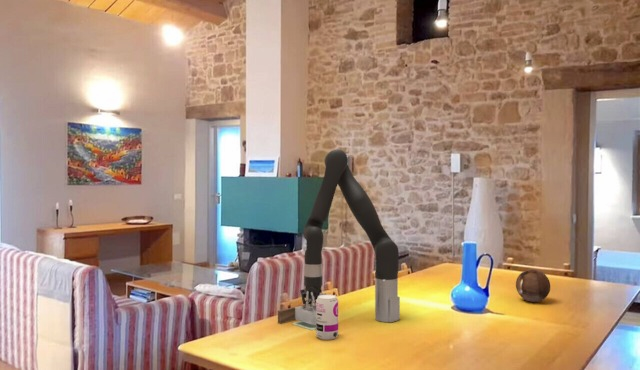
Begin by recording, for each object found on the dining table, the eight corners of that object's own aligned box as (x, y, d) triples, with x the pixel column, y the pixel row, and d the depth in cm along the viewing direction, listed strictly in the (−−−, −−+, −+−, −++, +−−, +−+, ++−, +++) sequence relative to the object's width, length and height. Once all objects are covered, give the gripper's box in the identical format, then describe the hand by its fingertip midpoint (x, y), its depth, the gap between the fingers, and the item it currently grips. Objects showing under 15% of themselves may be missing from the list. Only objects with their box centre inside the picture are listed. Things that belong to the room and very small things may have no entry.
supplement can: (341, 334, 200) (340, 294, 200) (334, 341, 192) (334, 299, 192) (320, 332, 203) (320, 293, 202) (313, 339, 195) (313, 298, 194)
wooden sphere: (544, 298, 257) (544, 267, 257) (554, 305, 242) (555, 272, 242) (512, 297, 259) (512, 266, 258) (520, 305, 244) (520, 272, 243)
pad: (334, 324, 214) (334, 323, 214) (312, 330, 206) (312, 329, 206) (313, 318, 223) (313, 317, 223) (291, 324, 214) (291, 323, 214)
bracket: (313, 314, 221) (313, 302, 221) (330, 319, 214) (330, 307, 214) (295, 319, 214) (295, 307, 214) (311, 324, 207) (311, 311, 207)
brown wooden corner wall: (334, 320, 219) (334, 308, 219) (299, 330, 206) (299, 317, 206) (312, 314, 229) (311, 302, 229) (277, 323, 216) (277, 310, 216)
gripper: (332, 275, 215) (332, 318, 216) (308, 271, 226) (308, 311, 226) (318, 278, 210) (318, 321, 211) (294, 273, 221) (295, 314, 221)
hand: (313, 316), depth 218 cm, fingers closed on bracket, 4 cm apart
